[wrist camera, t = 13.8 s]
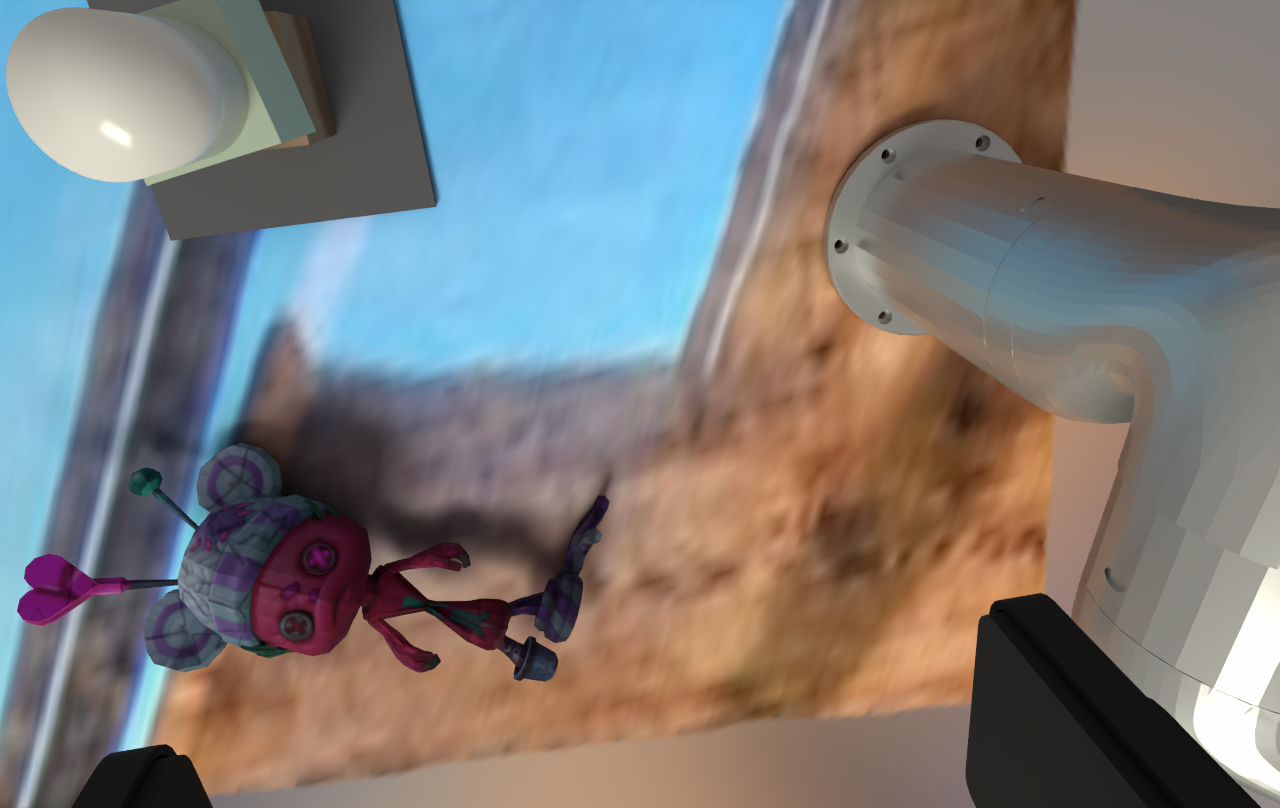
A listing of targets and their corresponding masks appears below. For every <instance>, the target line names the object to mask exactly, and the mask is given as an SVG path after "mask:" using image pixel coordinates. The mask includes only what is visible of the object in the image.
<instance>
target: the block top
mask: <svg viewBox="0 0 1280 808" xmlns="http://www.w3.org/2000/svg"><path fill="white" fill-rule="evenodd" d="M138 14H140V15H148V16H156V17H165V18H173V19H178V20H182V21H185V22H188V23H191V24H193V25H195V26H197V27H199V28H201V29H203V30H204V31H206V32H207V33H209V34H210V35H212V36H213V37H214V38H215V39H217V40H218V41H219V42H220V43H221V44H222V45H223V46H224V47H225V48H226V49H227V50H228V52H229V53H230V54H231V55H232V57H233V58H234V60H235V61H236V63H237V65H238V66H239V69H240V71H241V73H242V75H243V78H244V80H245V83H246V88H247V92H248V101H249V104H248V115H247V120H246V123H245V126H244V129H243V131H242V133H241V135H240V136H239V138H238V139H237V140H236V142H235V143H234V144H233V145H232V146H231V147H230V148H228V149H227V150H226V151H224V152H223V153H221V154H219V155H217V156H214V157H211V158H208V159H205V160H202V161H199V162H195V163H192V164H189V165H185V166H182V167H179V168H176V169H172V170H169V171H166V172H162V173H159V174H156V175H152V176H149V177H146V178H143V179H144V181H145V183H146V185H147V186H148V185H151V184H154V183H157V182H160V181H164V180H167V179H170V178H173V177H176V176H179V175H182V174H186V173H189V172H192V171H195V170H198V169H201V168H205V167H208V166H211V165H214V164H217V163H220V162H224V161H227V160H230V159H233V158H236V157H239V156H242V155H246V154H249V153H252V152H255V151H258V150H261V149H265V148H268V147H271V146H274V145H277V144H280V143H283V142H286V141H289V140H292V139H296V138H299V137H302V136H305V135H308V134H311V133H314V132H316V130H315V127H314V125H313V123H312V120H311V118H310V116H309V114H308V111H307V109H306V107H305V104H304V102H303V100H302V98H301V95H300V93H299V91H298V89H297V86H296V84H295V82H294V79H293V77H292V75H291V73H290V70H289V68H288V66H287V64H286V61H285V59H284V57H283V54H282V52H281V50H280V48H279V45H278V43H277V41H276V38H275V36H274V34H273V32H272V29H271V27H270V25H269V23H268V20H267V18H266V16H265V13H264V11H263V9H262V7H261V4H260V2H259V1H258V0H179V1H175V2H172V3H169V4H166V5H163V6H160V7H157V8H153V9H150V10H147V11H144V12H141V13H138Z"/></svg>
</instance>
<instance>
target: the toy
mask: <svg viewBox="0 0 1280 808" xmlns="http://www.w3.org/2000/svg"><path fill="white" fill-rule="evenodd" d="M161 482H162V477H161V475H160V472H158V471H155V470H153V469H150V468H143V469H140V470H138V471H136V472H134V473H133V474H132V476H131V479H130V483H129V488H130V490H131V492H132V493H135V494H137V495H140V496H148V495H151V494H152V495H154V496H155V497H156V498H157V499H159V500H160V501H161V502H162V503H163V504H165V505H166V506H167V507H168V508H170V509H171V510H172V511H173V512H174V513H176V514H177V515H178V516H179V517H180V518H182V519H183V520H184V521H185V522H187V523H188V524H189V525H190V526H191V527H193V528H194V529H195V530H196V531H195V532H194V534H193V536H192V538H191V540H190V543H189V545H188V547H187V549H186V551H185V554H184V557H183V561H182V565H181V568H180V572H179V576H178V579H175V580H126V579H125V578H124V577H117V578H99V579H91V578H90V577H89V576H87V575H86V574H84V573H83V572H82V571H80V570H79V569H77V568H76V567H75V566H73V565H72V564H70V563H69V562H68V561H66V560H65V559H63V558H62V557H61V556H57V555H53V554H47V555H44V556H41V557H38V558H35V559H34V560H33V561H32V562H31V563H30V564H29V565H28V566H27V567H26V569H25V576H24V579H25V580H26V581H27V583H28V584H29V585H30V586H31V587H33V588H34V589H33V590H31V591H28V592H27V593H26V594H25V595H24V596H23V597H22V598H21V599H20V601H19V605H18V609H17V612H18V613H19V614H20V616H21V617H22V619H23V620H25V621H26V622H28V623H30V624H35V625H39V626H44V625H47V624H50V623H53V622H55V621H57V620H58V619H60V618H61V617H62V616H64V615H65V614H67V613H68V612H70V611H71V610H73V609H74V608H75V607H77V606H78V605H80V604H81V603H83V602H84V601H85V600H87V599H88V598H90V597H91V596H93V595H103V594H120V593H122V592H123V591H125V590H129V589H140V588H151V587H162V586H173V585H178V587H179V589H176V590H173V591H170V592H168V593H167V594H166V595H165V596H164V597H163V598H162V599H161V600H160V601H159V602H158V603H157V604H156V605H155V606H154V607H153V608H152V609H151V611H150V613H149V615H148V617H147V619H146V621H145V622H144V624H143V629H144V635H145V641H146V647H147V652H148V654H149V656H150V658H151V659H152V661H153V663H154V664H158V665H161V666H164V667H168V668H171V669H174V670H178V671H181V672H188V671H192V670H196V669H200V668H204V667H207V666H208V665H209V664H210V663H211V662H212V661H213V660H214V659H215V658H216V657H217V655H218V654H219V653H220V652H221V651H222V650H223V649H224V648H225V647H226V645H227V643H230V644H232V645H235V646H238V647H241V648H242V649H244V650H247V651H250V652H253V653H256V654H257V655H259V656H263V657H267V658H271V657H275V656H278V655H282V654H284V653H287V652H298V653H302V654H306V655H310V656H316V655H320V654H325V653H329V652H330V651H331V650H332V649H333V648H334V647H335V646H336V645H337V644H338V643H339V642H340V641H341V640H342V639H343V638H344V637H345V636H346V635H347V633H348V631H349V629H350V626H351V624H352V622H353V620H354V618H355V616H356V614H357V612H358V610H359V608H360V606H362V613H363V618H364V620H367V621H368V623H369V624H370V625H371V626H372V627H373V628H375V629H376V630H377V631H378V632H380V633H381V634H382V635H383V636H384V638H385V640H386V642H387V643H388V645H389V647H390V648H391V650H392V651H393V653H394V655H395V656H396V657H397V659H398V660H399V661H400V662H401V663H402V664H403V665H405V666H406V667H408V668H410V669H411V670H414V671H416V672H422V673H423V672H426V671H429V670H432V669H434V668H435V667H436V666H437V665H438V664H439V663H440V662H441V660H440V659H439V657H438V655H437V654H433V653H432V652H428V651H423V650H421V649H419V648H417V647H414V646H413V645H411V644H410V643H409V642H408V641H407V640H406V639H405V637H404V636H403V635H402V634H401V633H400V632H398V631H397V630H396V629H394V628H393V627H391V626H390V625H389V624H388V623H387V622H385V621H384V620H383V619H386V618H391V617H396V616H401V615H406V614H411V613H416V612H421V611H426V612H427V613H429V614H431V615H433V616H435V617H436V618H438V619H439V620H440V621H442V622H443V623H444V624H445V625H447V626H448V627H449V628H450V629H452V630H453V631H454V632H456V633H457V634H458V635H459V636H461V637H462V638H463V639H465V640H466V641H467V642H469V643H472V644H474V645H476V646H478V647H480V648H483V649H485V650H495V649H496V648H498V649H499V650H501V651H502V652H503V653H505V654H506V655H507V656H508V657H509V658H510V660H511V661H512V662H513V663H514V664H515V665H516V666H515V670H514V679H516V680H518V681H521V680H522V679H523V678H525V679H531V680H538V681H544V682H546V681H547V680H549V679H551V678H552V677H553V676H554V674H555V671H556V669H557V665H558V658H557V656H556V654H555V652H553V651H551V650H550V649H548V648H546V647H544V646H542V645H541V644H539V643H537V642H536V638H534V637H532V636H530V637H528V638H527V640H526V641H525V643H524V645H523V644H521V643H518V642H516V641H515V640H513V639H511V638H509V637H507V636H506V635H505V633H506V631H507V629H508V623H509V620H510V618H511V617H512V616H516V615H520V614H528V615H536V618H535V627H536V628H537V629H538V630H539V631H544V634H545V637H546V638H547V639H549V640H551V641H552V642H555V643H557V642H563V641H566V640H567V639H568V637H569V636H570V634H571V632H572V630H573V628H574V625H575V622H576V619H577V616H578V612H579V608H580V604H581V598H582V592H583V582H582V579H581V578H580V577H579V576H578V575H579V573H580V571H581V570H582V566H583V563H584V559H585V556H586V554H587V553H588V551H589V549H590V548H591V546H592V545H593V544H595V543H597V542H600V538H601V533H600V532H599V531H598V530H597V529H596V527H597V525H598V524H599V522H600V521H601V520H602V518H603V516H604V514H605V512H606V510H607V509H608V505H609V501H608V499H607V498H606V497H605V496H598V497H597V499H596V501H595V503H594V506H593V507H592V509H591V510H590V511H589V513H588V514H587V515H586V516H585V518H584V519H583V520H582V522H581V523H580V524H579V526H578V527H577V528H576V530H575V531H574V532H573V535H572V537H571V540H570V543H569V546H568V549H567V553H566V557H565V559H564V562H563V565H562V567H561V569H560V572H559V574H558V576H557V577H555V578H551V579H549V581H548V583H547V585H546V587H545V590H544V592H541V593H538V594H534V595H531V596H528V597H523V598H520V599H517V600H515V601H512V602H510V603H507V602H506V601H503V600H500V599H477V600H472V601H432V600H428V599H427V598H426V597H425V596H424V595H423V594H422V593H420V592H419V591H418V590H417V589H416V588H415V587H414V586H413V585H412V584H411V583H410V582H409V581H408V580H407V579H406V578H405V577H403V576H402V575H401V574H400V573H399V572H400V571H404V570H408V569H416V568H427V567H441V568H445V569H450V570H454V571H459V572H460V569H461V566H462V564H461V563H459V562H455V561H452V560H449V559H452V558H457V559H459V560H461V561H462V563H463V568H466V567H468V566H470V565H471V563H470V559H469V555H468V554H467V552H466V551H465V550H464V548H463V547H462V546H461V545H459V544H455V543H441V544H438V545H436V546H434V547H432V548H429V549H427V550H425V551H422V552H420V553H417V554H415V555H414V556H412V557H410V558H406V559H402V560H398V561H394V562H391V563H387V564H385V565H384V566H382V565H380V566H379V567H378V568H376V570H375V571H374V573H373V574H372V575H370V574H368V573H369V569H370V564H371V560H372V559H371V550H370V543H369V538H368V532H367V530H366V529H365V528H364V527H363V526H361V525H360V524H359V523H358V522H356V521H355V520H354V519H351V518H348V517H345V516H342V515H339V513H338V512H337V511H336V510H335V509H334V508H333V507H332V506H331V505H330V504H328V503H326V502H323V501H322V502H321V503H320V502H317V501H314V500H311V499H308V498H305V497H302V496H299V495H296V494H293V495H290V496H287V497H285V496H280V495H279V494H280V491H281V488H282V479H281V471H280V467H279V465H278V464H277V462H276V461H275V460H274V459H273V458H272V457H271V456H270V455H269V454H268V453H267V452H266V451H265V450H264V449H263V448H259V447H256V446H252V445H248V444H245V443H238V444H235V445H232V446H230V447H227V448H225V449H223V450H220V451H219V452H218V453H217V454H216V455H215V456H214V457H213V458H211V459H210V460H209V461H208V462H207V463H206V464H205V465H204V466H202V467H201V469H200V473H199V478H198V482H197V491H198V499H199V505H201V506H202V507H203V508H205V509H206V510H208V511H209V512H210V514H209V515H208V516H207V518H206V519H205V520H204V521H203V522H202V523H201V525H200V526H198V525H197V524H196V523H195V522H193V521H192V520H191V519H190V518H189V517H188V516H187V515H186V514H185V513H184V512H183V511H182V510H181V509H180V508H179V507H178V506H177V505H176V504H175V503H174V502H173V501H172V500H171V499H170V498H169V497H168V496H167V495H165V494H164V493H163V492H162V491H161V490H160V489H159V487H160V485H161Z"/></svg>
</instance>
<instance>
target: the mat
mask: <svg viewBox="0 0 1280 808" xmlns="http://www.w3.org/2000/svg"><path fill="white" fill-rule="evenodd" d="M175 1H179V0H87V2H88V5H89V8H90V9H97V10H106V11H114V12H123V13H131V14H138V13H141V12H144V11H147V10H150V9H153V8H157V7H160V6H163V5H166V4H169V3H172V2H175ZM258 1H259V2H260V4H261V7H262V9H263V11H264V12H267V11H278V12H283V13H288V14H293V15H298V16H303V17H307V19H308V23H309V27H310V31H311V35H312V39H313V43H314V47H315V51H316V55H317V59H318V63H319V67H320V71H321V75H322V79H323V83H324V87H325V91H326V95H327V99H328V103H329V107H330V111H331V115H332V119H333V123H334V127H335V131H336V135H334V136H331V137H329V138H326V139H323V140H321V141H318V142H315V143H313V144H310V145H304V146H295V147H287V148H279V149H271V150H262V151H255V152H252V153H249V154H246V155H242V156H239V157H236V158H233V159H230V160H227V161H224V162H220V163H217V164H214V165H211V166H208V167H205V168H201V169H198V170H195V171H192V172H189V173H186V174H182V175H179V176H176V177H173V178H170V179H167V180H164V181H160V182H157V183H154V184H151V185H152V188H153V191H154V194H155V197H156V200H157V202H158V205H159V208H160V211H161V214H162V217H163V220H164V222H165V225H166V228H167V231H168V234H169V237H170V240H171V241H172V240H180V239H187V238H195V237H203V236H211V235H219V234H227V233H234V232H242V231H250V230H258V229H266V228H274V227H281V226H289V225H297V224H305V223H313V222H320V221H328V220H336V219H344V218H352V217H360V216H367V215H375V214H383V213H391V212H399V211H407V210H414V209H422V208H430V207H436V201H435V196H434V191H433V186H432V181H431V177H430V172H429V167H428V162H427V157H426V153H425V148H424V143H423V138H422V133H421V128H420V124H419V119H418V114H417V109H416V104H415V100H414V95H413V90H412V85H411V80H410V75H409V71H408V66H407V61H406V56H405V51H404V46H403V42H402V37H401V32H400V27H399V22H398V18H397V13H396V8H395V3H394V0H258Z"/></svg>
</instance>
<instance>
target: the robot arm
mask: <svg viewBox="0 0 1280 808" xmlns="http://www.w3.org/2000/svg"><path fill="white" fill-rule="evenodd" d="M977 139H978V144H977V145H975V144H976V140H977ZM884 150H886V156H885V157H884V158H881V155H882V152H883V151H884ZM837 240H840V244H839V245H838V246H837V247H834V245H835V243H836V241H837ZM823 252H824V259H825V265H826V270H827V273H828V275H829V278H830V281H831V284H832V286H833V288H834V289H835V291H836V293H837V294H838V296H839V297H840V299H841V300H842V302H843V303H844V304H845V305H846V306H847V307H848V308H849V309H850V310H851V311H852V312H853V313H854V314H856V315H857V316H858V317H860V318H861V319H862V320H864V321H865V322H866V323H868V324H870V325H872V326H874V327H876V328H878V329H880V330H883V331H887V332H891V333H895V334H899V335H924V334H930V335H932V336H933V337H935V338H936V339H938V340H939V341H941V342H942V343H944V344H945V345H947V346H948V347H949V348H951V349H952V350H954V351H955V352H957V353H958V354H960V355H961V356H963V357H964V358H965V359H967V360H968V361H970V362H971V363H973V364H974V365H976V366H977V367H979V368H980V369H982V370H983V371H984V372H986V373H987V374H989V375H990V376H992V377H993V378H995V379H996V380H998V381H999V382H1000V383H1002V384H1003V385H1005V386H1006V387H1008V388H1009V389H1011V390H1012V391H1014V392H1015V393H1017V394H1019V395H1020V396H1022V397H1023V398H1025V399H1026V400H1028V401H1029V402H1031V403H1032V404H1034V405H1036V406H1037V407H1039V408H1041V409H1043V410H1045V411H1047V412H1049V413H1051V414H1054V415H1056V416H1059V417H1062V418H1065V419H1069V420H1073V421H1080V422H1086V423H1096V424H1116V423H1127V422H1131V423H1130V427H1129V431H1128V434H1127V437H1126V440H1125V443H1124V446H1123V449H1122V452H1121V455H1120V458H1119V461H1118V472H1117V475H1116V478H1115V481H1114V484H1113V486H1112V489H1111V492H1110V495H1109V498H1108V501H1107V504H1106V506H1105V509H1104V512H1103V515H1102V518H1101V521H1100V524H1099V527H1098V530H1097V533H1096V536H1095V538H1094V541H1093V544H1092V547H1091V550H1090V553H1089V556H1088V558H1087V562H1086V565H1085V567H1084V570H1083V573H1082V576H1081V579H1080V582H1079V585H1078V589H1077V592H1076V596H1075V600H1074V604H1073V608H1072V613H1071V618H1070V617H1069V616H1068V615H1067V614H1066V613H1065V612H1064V611H1063V610H1062V609H1061V608H1060V607H1059V606H1058V605H1057V603H1056V602H1055V601H1054V600H1052V599H1051V598H1050V597H1049V596H1047V595H1045V594H1042V593H1038V594H1033V595H1027V596H1021V597H1015V598H1009V599H1004V600H998V601H995V602H994V603H993V604H992V606H991V608H990V612H989V615H985V616H982V617H981V618H980V620H979V624H978V634H977V646H976V657H975V669H974V680H973V692H972V703H971V715H970V726H969V738H968V750H967V761H966V781H967V786H968V789H969V793H970V795H971V798H972V800H973V802H974V804H975V806H976V808H1261V807H1260V806H1259V805H1258V804H1257V803H1256V802H1255V801H1254V800H1253V799H1252V798H1251V797H1250V796H1249V795H1248V794H1247V793H1246V792H1245V790H1244V789H1243V788H1242V787H1244V788H1246V789H1249V790H1251V791H1253V792H1255V793H1257V794H1259V795H1262V796H1264V797H1266V798H1268V799H1271V800H1273V801H1275V802H1277V803H1279V804H1280V208H1266V207H1254V206H1241V205H1233V204H1226V203H1219V202H1211V201H1204V200H1199V199H1193V198H1187V197H1181V196H1176V195H1171V194H1166V193H1161V192H1156V191H1151V190H1146V189H1141V188H1137V187H1130V186H1125V185H1120V184H1116V183H1111V182H1106V181H1101V180H1097V179H1091V178H1087V177H1082V176H1078V175H1073V174H1068V173H1063V172H1059V171H1054V170H1049V169H1044V168H1040V167H1035V166H1030V165H1025V164H1023V163H1022V161H1021V159H1020V157H1019V156H1018V155H1017V153H1016V152H1015V151H1014V150H1013V148H1012V147H1011V146H1010V145H1009V143H1007V142H1006V141H1005V140H1004V139H1002V138H1001V137H1000V136H998V135H997V134H996V133H995V132H993V131H991V130H989V129H986V128H984V127H982V126H980V125H978V124H975V123H970V122H965V121H960V120H950V119H934V120H926V121H919V122H916V123H913V124H910V125H907V126H904V127H901V128H899V129H897V130H895V131H893V132H892V133H890V134H888V135H886V136H884V137H883V138H881V139H879V140H878V141H877V142H876V143H875V144H873V145H872V146H871V147H870V148H868V149H867V150H866V151H865V152H863V153H862V155H861V156H860V157H859V158H858V159H857V160H856V161H855V163H854V164H853V165H852V166H851V167H850V168H849V169H848V171H847V173H846V174H845V176H844V177H843V179H842V181H841V182H840V184H839V185H838V187H837V189H836V191H835V194H834V196H833V199H832V201H831V203H830V206H829V208H828V213H827V217H826V222H825V226H824V238H823ZM881 312H883V314H882V315H881V316H880V317H879V315H880V314H881ZM1241 786H1242V787H1241ZM72 808H213V807H212V805H211V802H210V800H209V798H208V796H207V794H206V792H205V790H204V787H203V785H202V783H201V781H200V779H199V777H198V774H197V772H196V770H195V768H194V766H193V764H192V762H191V760H190V759H189V757H187V756H186V755H177V754H176V753H175V751H174V750H173V748H172V747H170V746H168V745H167V744H164V745H156V746H150V747H144V748H138V749H133V750H127V751H121V752H115V753H111V754H109V755H107V756H106V757H104V758H103V759H102V760H101V762H100V763H99V764H98V765H97V767H96V769H95V770H94V772H93V773H92V775H91V777H90V778H89V780H88V782H87V783H86V785H85V786H84V788H83V790H82V791H81V793H80V795H79V796H78V798H77V799H76V801H75V803H74V804H73V806H72Z"/></svg>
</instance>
